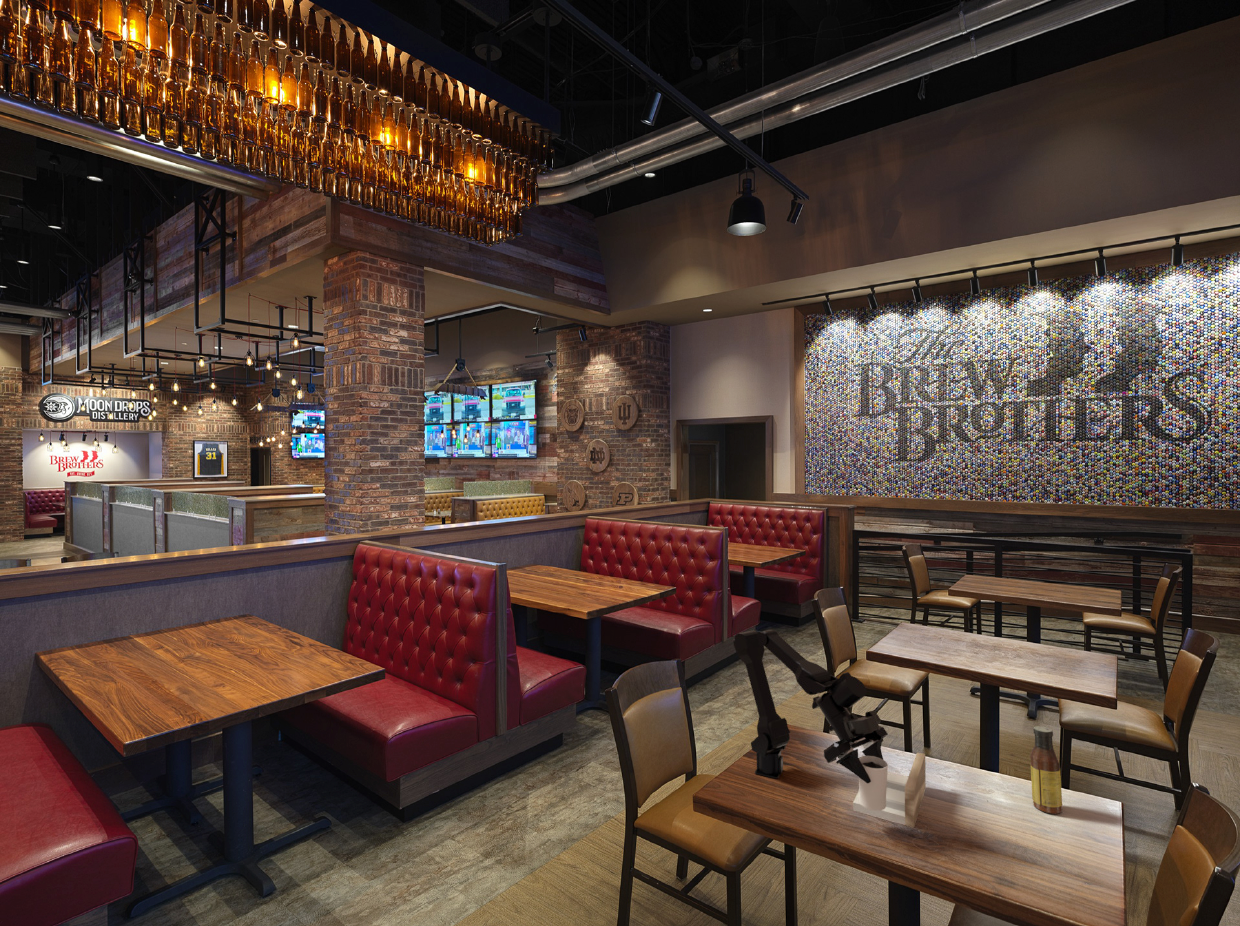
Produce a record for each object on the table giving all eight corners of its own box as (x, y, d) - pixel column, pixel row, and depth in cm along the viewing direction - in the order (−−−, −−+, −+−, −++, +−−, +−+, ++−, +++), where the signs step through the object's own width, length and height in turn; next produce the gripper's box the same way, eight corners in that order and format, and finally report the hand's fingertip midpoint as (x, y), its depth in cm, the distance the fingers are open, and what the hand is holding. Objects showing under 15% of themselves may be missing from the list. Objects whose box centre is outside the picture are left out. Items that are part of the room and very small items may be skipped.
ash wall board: (905, 825, 150) (904, 787, 150) (917, 785, 168) (917, 752, 168) (914, 827, 149) (913, 789, 149) (925, 787, 167) (925, 754, 167)
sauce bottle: (1067, 810, 156) (1066, 731, 156) (1054, 818, 152) (1053, 736, 153) (1038, 799, 161) (1037, 722, 161) (1025, 805, 158) (1024, 727, 158)
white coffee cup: (851, 798, 151) (851, 757, 151) (875, 794, 153) (875, 754, 153) (869, 813, 145) (869, 770, 145) (894, 809, 146) (894, 766, 146)
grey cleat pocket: (853, 810, 156) (852, 796, 156) (870, 774, 175) (870, 761, 175) (905, 825, 150) (904, 810, 150) (917, 785, 168) (917, 772, 168)
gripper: (833, 709, 147) (875, 775, 138) (881, 693, 157) (922, 754, 148) (807, 730, 153) (845, 795, 144) (853, 714, 164) (892, 773, 155)
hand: (877, 778), depth 148 cm, fingers closed on white coffee cup, 6 cm apart
